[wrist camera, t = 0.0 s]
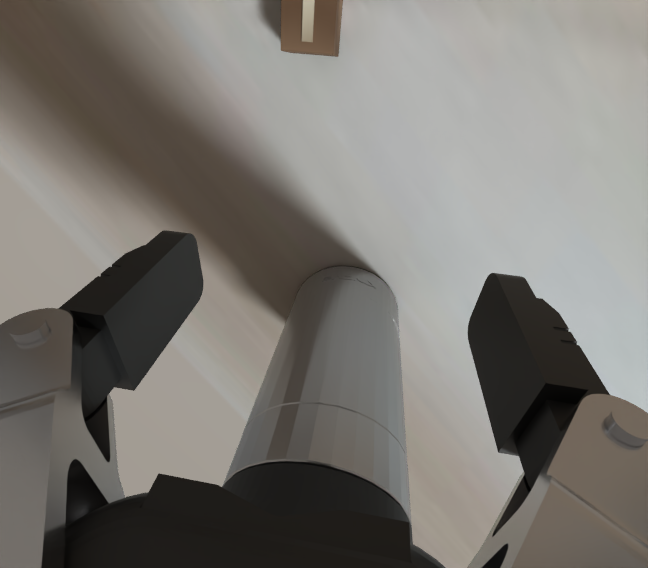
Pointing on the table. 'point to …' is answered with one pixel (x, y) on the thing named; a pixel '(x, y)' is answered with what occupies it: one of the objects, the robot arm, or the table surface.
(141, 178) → the table surface
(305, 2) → the walnut rail
